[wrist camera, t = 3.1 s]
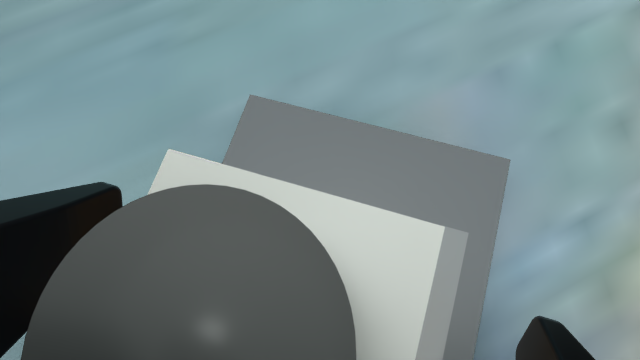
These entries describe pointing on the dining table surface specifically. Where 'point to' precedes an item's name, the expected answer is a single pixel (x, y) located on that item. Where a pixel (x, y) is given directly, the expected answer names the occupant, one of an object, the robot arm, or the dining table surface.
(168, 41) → the dining table surface
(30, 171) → the dining table surface
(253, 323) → the plug
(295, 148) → the socket panel
